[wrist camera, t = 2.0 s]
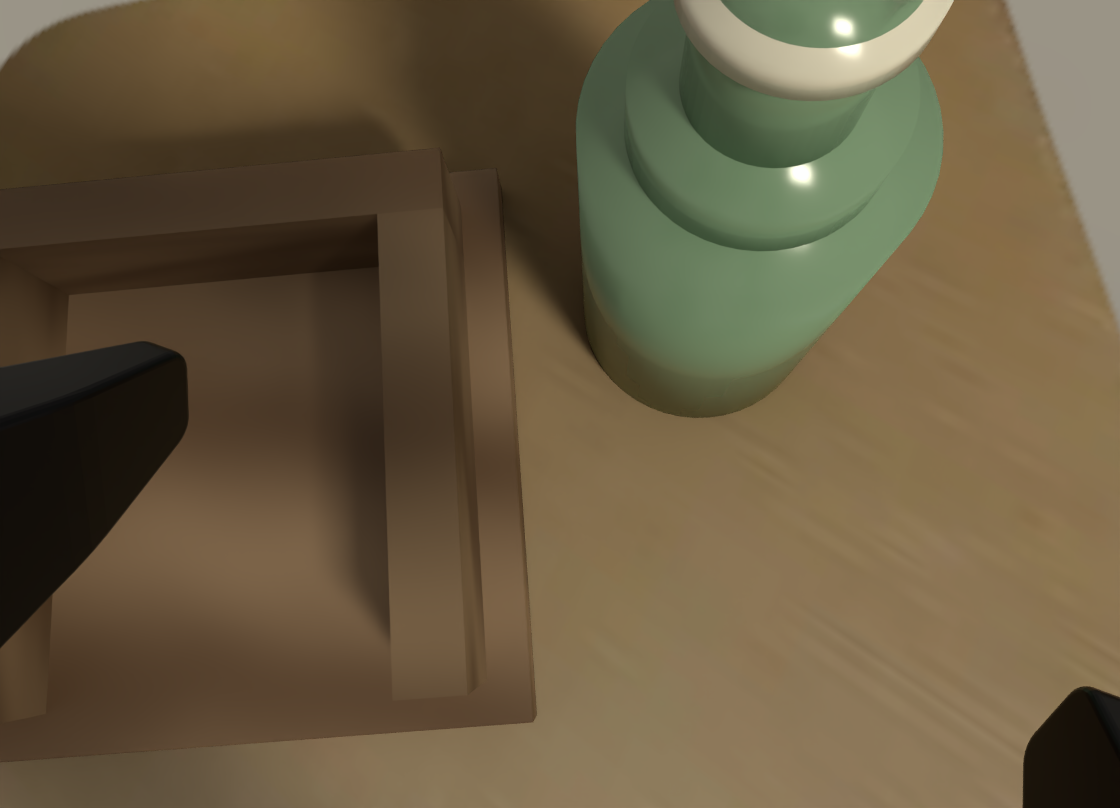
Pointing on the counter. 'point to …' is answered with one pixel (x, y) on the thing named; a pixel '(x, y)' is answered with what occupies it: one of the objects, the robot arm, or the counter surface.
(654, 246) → the green bottle
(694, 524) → the counter surface
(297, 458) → the bottle rest
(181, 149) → the counter surface
